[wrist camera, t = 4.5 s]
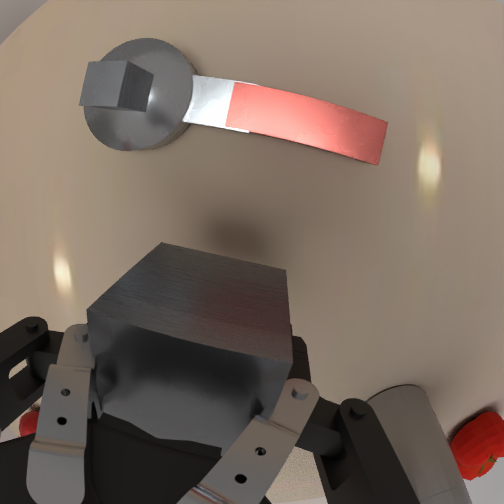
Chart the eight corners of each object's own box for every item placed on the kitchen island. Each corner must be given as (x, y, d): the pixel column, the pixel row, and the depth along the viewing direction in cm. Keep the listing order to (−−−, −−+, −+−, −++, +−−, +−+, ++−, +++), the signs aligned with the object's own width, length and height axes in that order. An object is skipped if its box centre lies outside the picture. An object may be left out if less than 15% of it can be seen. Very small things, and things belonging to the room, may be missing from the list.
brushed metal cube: (285, 269, 13) (292, 362, 7) (258, 366, 15) (248, 467, 9) (161, 242, 13) (86, 309, 7) (154, 341, 15) (105, 427, 9)
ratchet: (96, 144, 20) (40, 149, 14) (116, 49, 18) (67, 26, 11) (357, 195, 21) (393, 218, 14) (381, 93, 18) (425, 76, 11)
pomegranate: (23, 395, 34) (-4, 429, 25) (66, 415, 34) (40, 456, 25) (43, 430, 37) (22, 462, 29) (84, 449, 37) (65, 486, 28)
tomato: (474, 441, 33) (490, 476, 24) (429, 450, 33) (444, 492, 24) (509, 400, 29) (531, 436, 21) (467, 406, 29) (491, 451, 21)
